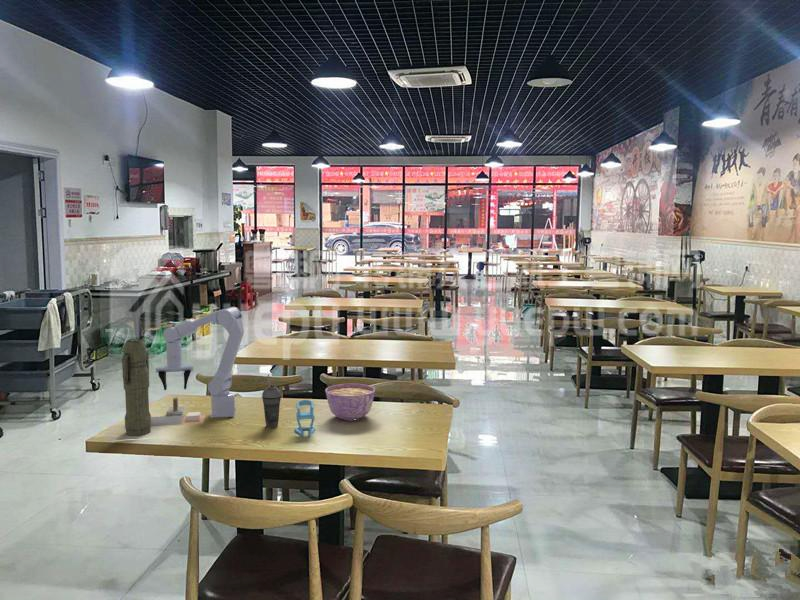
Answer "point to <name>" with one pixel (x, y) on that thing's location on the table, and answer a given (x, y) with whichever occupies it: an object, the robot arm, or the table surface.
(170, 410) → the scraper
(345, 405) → the bowl of food
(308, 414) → the chair
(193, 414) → the block
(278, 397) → the beverage cup
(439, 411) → the table surface
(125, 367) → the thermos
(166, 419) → the mat
